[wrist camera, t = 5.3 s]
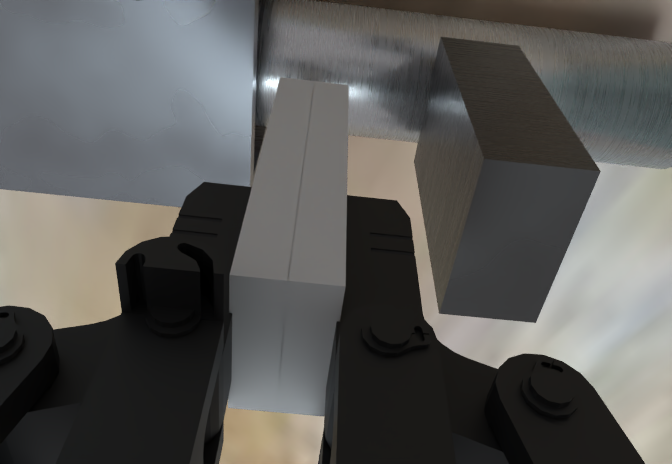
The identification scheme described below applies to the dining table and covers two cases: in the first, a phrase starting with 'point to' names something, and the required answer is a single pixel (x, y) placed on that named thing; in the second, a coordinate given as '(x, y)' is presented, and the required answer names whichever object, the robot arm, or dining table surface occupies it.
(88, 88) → the outer sleeve
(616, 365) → the dining table surface
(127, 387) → the robot arm
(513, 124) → the block with metal shaft
